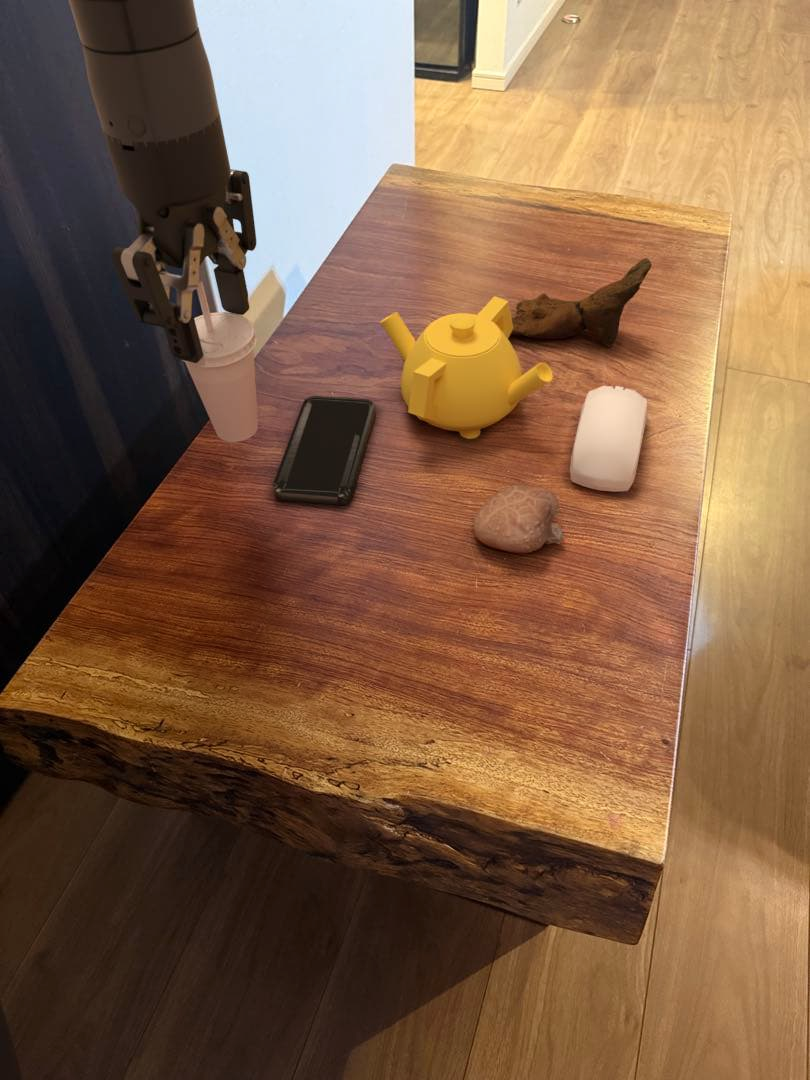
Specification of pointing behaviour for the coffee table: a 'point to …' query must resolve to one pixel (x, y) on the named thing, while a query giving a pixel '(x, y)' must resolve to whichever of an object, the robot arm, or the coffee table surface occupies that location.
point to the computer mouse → (609, 439)
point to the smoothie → (226, 371)
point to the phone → (325, 451)
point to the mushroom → (518, 519)
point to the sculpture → (580, 310)
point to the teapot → (464, 369)
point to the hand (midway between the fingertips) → (213, 333)
